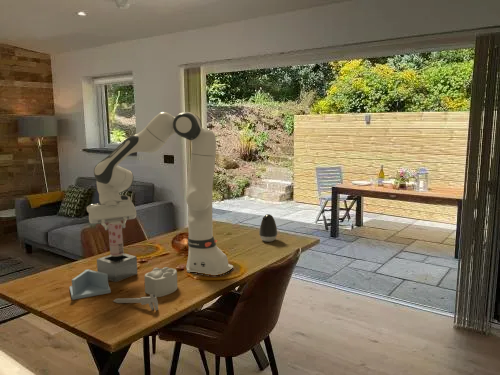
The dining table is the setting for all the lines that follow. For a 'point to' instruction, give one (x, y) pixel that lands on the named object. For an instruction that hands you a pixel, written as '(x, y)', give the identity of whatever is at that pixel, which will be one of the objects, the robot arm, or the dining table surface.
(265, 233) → the dark grey egg shape
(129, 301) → the caliper
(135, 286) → the dining table surface
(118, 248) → the beverage can
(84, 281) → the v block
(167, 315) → the dining table surface
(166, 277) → the lumpy-topped squat cylinder
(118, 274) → the pocket block
